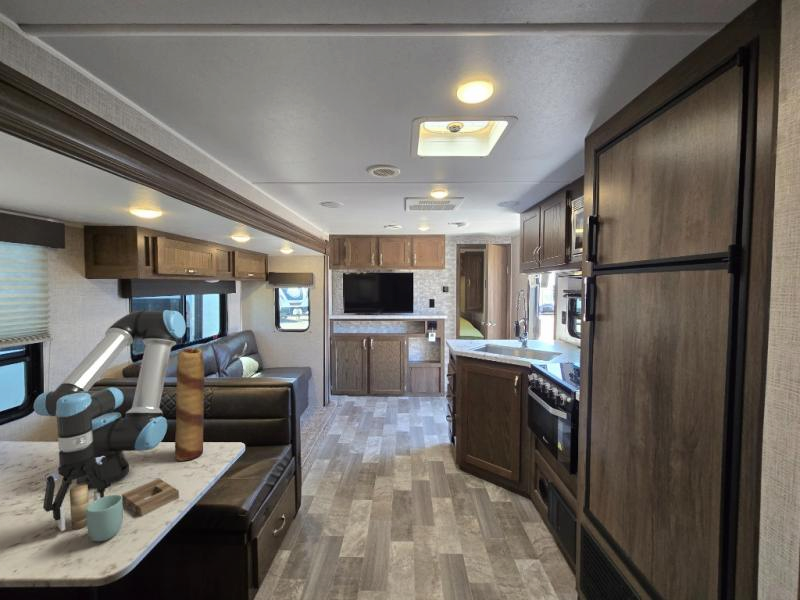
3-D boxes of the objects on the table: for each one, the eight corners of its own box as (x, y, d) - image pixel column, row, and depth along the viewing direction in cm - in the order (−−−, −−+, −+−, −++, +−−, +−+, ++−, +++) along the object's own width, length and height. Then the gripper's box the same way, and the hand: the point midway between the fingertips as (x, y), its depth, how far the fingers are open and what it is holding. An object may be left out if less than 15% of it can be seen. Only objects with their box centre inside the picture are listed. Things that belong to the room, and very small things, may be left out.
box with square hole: (122, 501, 116) (122, 494, 116) (159, 484, 125) (158, 478, 125) (141, 516, 109) (141, 508, 109) (178, 497, 118) (178, 490, 118)
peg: (69, 527, 104) (67, 488, 103) (86, 519, 108) (84, 481, 107) (74, 532, 102) (72, 492, 101) (91, 523, 105) (89, 485, 105)
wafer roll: (203, 446, 154) (204, 346, 150) (204, 458, 144) (204, 352, 141) (175, 451, 148) (175, 348, 144) (174, 464, 139) (174, 354, 135)
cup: (102, 527, 104) (100, 495, 103) (130, 525, 105) (128, 493, 104) (80, 547, 96) (78, 512, 96) (110, 545, 97) (108, 511, 96)
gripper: (31, 465, 93) (36, 547, 94) (123, 436, 110) (126, 505, 111) (23, 458, 97) (28, 536, 98) (113, 430, 114) (116, 497, 115)
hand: (80, 520), depth 105 cm, fingers open, 8 cm apart
